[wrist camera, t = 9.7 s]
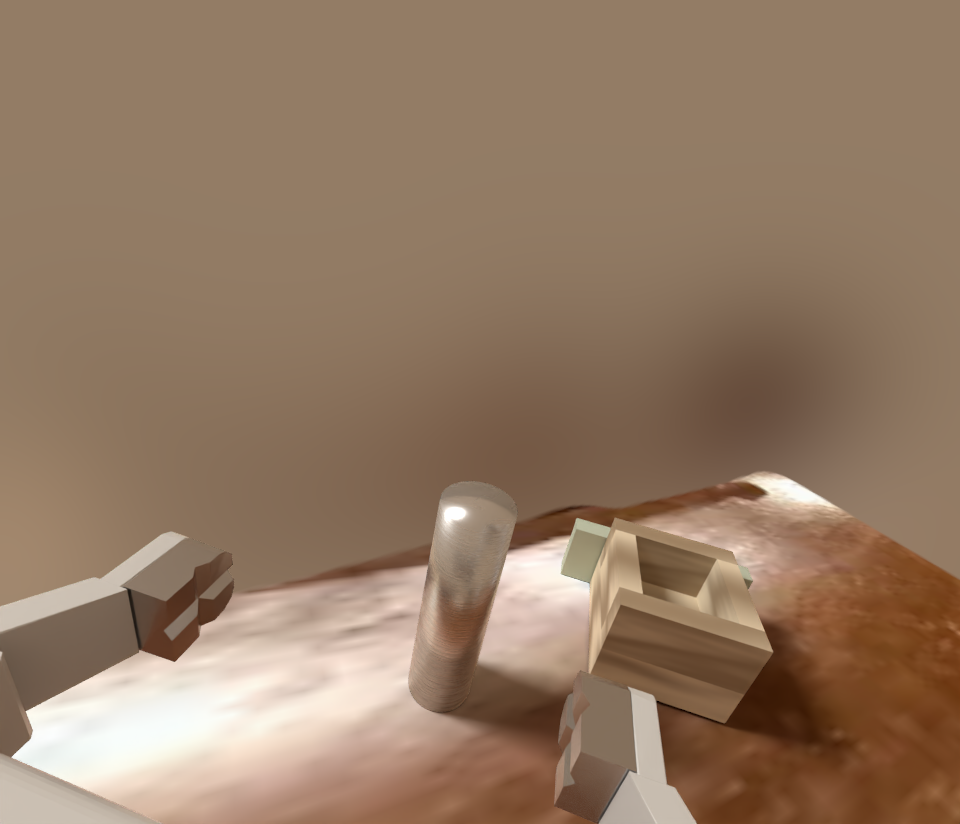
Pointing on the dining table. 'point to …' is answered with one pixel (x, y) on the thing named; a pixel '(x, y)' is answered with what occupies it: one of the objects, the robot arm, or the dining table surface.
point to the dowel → (459, 591)
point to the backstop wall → (596, 552)
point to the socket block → (674, 621)
